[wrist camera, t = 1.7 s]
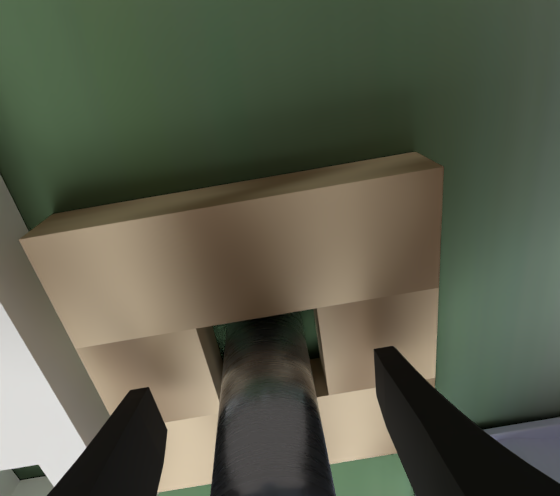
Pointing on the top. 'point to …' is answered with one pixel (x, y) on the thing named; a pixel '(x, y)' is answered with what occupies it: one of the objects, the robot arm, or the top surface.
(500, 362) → the top surface
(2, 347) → the tool rack
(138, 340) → the socket block
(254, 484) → the steel peg
